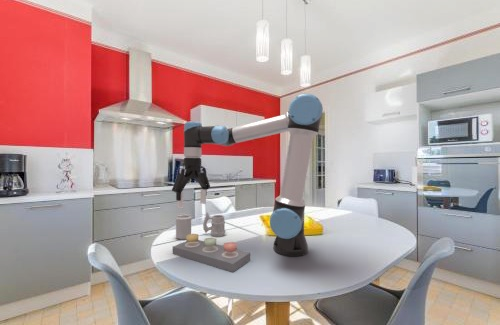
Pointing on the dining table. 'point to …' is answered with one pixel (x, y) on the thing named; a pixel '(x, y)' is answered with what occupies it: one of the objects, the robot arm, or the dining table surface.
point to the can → (183, 226)
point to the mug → (215, 225)
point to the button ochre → (192, 237)
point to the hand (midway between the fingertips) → (192, 205)
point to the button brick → (230, 247)
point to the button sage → (210, 242)
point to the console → (212, 255)
